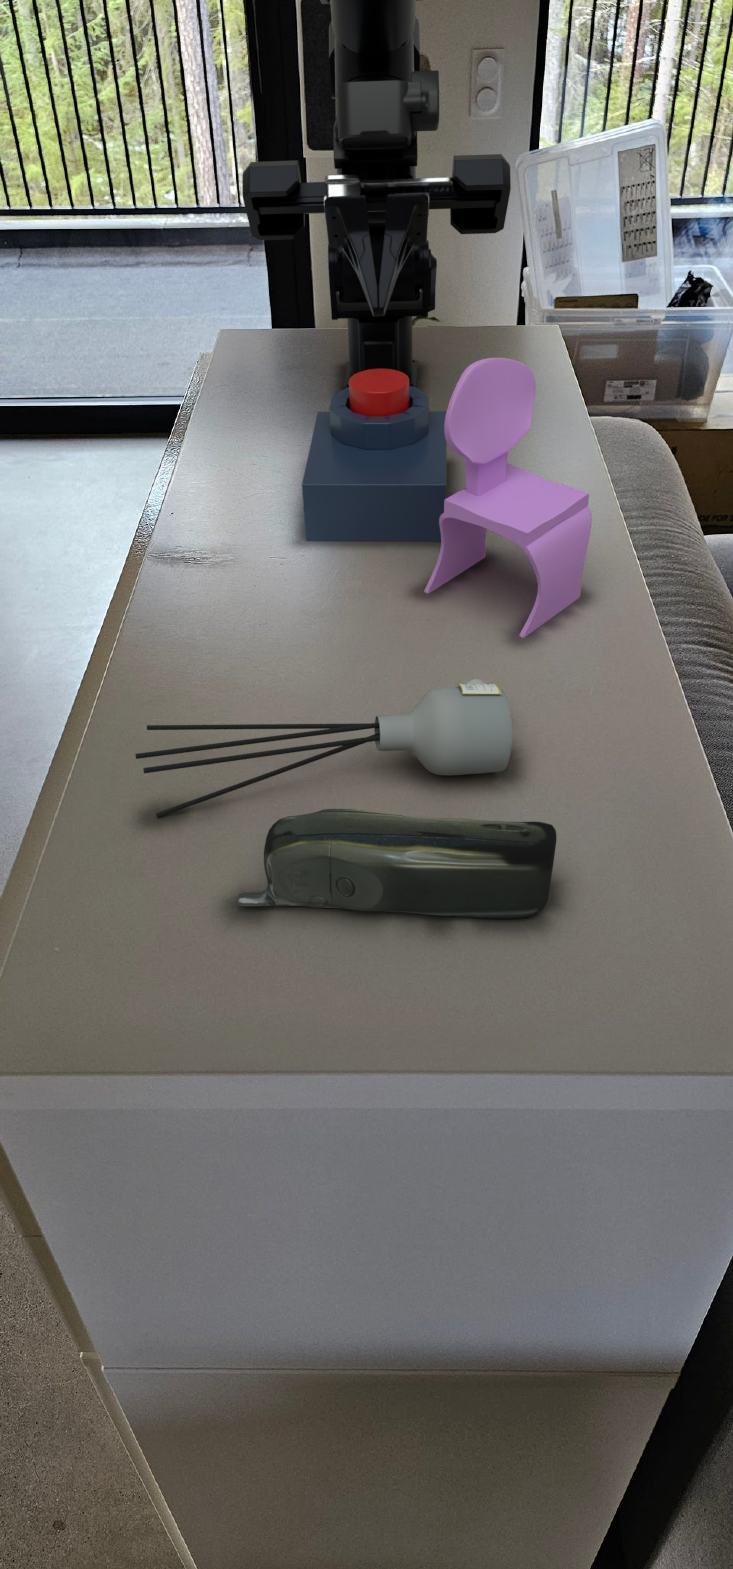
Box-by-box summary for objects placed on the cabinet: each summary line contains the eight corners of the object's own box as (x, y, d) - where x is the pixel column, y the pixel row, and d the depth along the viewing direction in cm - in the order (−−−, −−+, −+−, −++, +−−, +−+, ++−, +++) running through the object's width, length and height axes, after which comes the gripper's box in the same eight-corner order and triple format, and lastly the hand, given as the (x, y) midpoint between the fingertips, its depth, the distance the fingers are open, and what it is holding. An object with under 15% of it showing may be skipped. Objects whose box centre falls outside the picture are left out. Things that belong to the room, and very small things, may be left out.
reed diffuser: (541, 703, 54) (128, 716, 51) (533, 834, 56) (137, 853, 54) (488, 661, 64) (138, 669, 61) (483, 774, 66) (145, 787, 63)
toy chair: (519, 649, 69) (538, 418, 59) (413, 599, 73) (413, 376, 63) (595, 593, 73) (624, 370, 63) (490, 549, 78) (502, 334, 68)
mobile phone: (556, 808, 51) (235, 801, 52) (563, 854, 49) (227, 847, 49) (545, 880, 55) (243, 874, 55) (550, 927, 52) (236, 920, 53)
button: (352, 395, 83) (351, 368, 82) (410, 395, 83) (410, 368, 82) (347, 420, 80) (346, 392, 79) (408, 420, 80) (408, 392, 78)
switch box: (321, 461, 89) (316, 382, 84) (445, 461, 88) (447, 381, 84) (306, 542, 79) (299, 457, 75) (444, 542, 79) (446, 457, 74)
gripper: (229, 24, 72) (231, 259, 71) (516, 14, 71) (522, 250, 70) (251, 133, 83) (254, 337, 82) (500, 125, 82) (504, 330, 81)
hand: (378, 313), depth 79 cm, fingers closed
